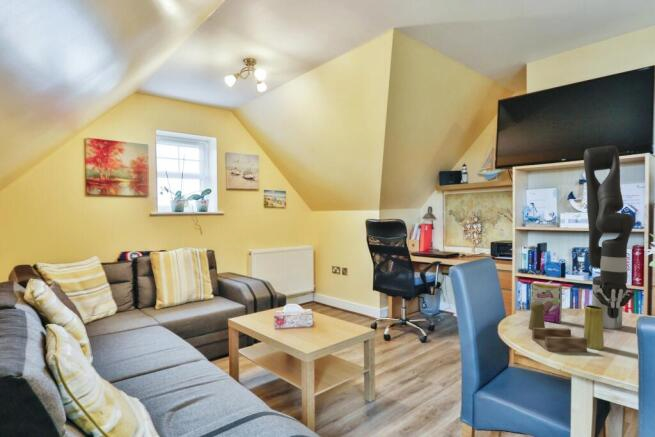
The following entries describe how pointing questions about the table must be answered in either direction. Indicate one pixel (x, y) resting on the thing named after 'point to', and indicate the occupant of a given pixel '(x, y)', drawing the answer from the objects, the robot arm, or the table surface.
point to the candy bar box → (548, 299)
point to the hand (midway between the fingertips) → (612, 317)
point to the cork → (536, 315)
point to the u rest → (558, 340)
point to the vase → (594, 327)
